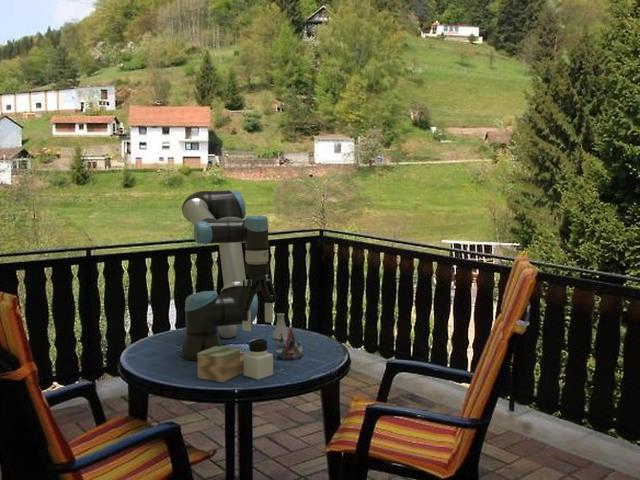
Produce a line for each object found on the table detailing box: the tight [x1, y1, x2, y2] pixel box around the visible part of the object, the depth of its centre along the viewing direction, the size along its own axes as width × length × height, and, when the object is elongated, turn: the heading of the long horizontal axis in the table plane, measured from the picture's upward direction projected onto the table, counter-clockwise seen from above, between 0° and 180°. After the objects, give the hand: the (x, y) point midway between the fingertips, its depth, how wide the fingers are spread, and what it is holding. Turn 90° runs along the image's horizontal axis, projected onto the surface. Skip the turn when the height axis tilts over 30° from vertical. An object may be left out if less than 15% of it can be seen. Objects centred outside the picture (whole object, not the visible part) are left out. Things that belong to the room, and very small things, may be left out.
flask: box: [271, 312, 289, 340], centre depth 261 cm, size 7×7×10 cm
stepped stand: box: [196, 346, 249, 383], centre depth 217 cm, size 10×20×8 cm, turn 153°
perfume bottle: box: [218, 325, 238, 339], centre depth 263 cm, size 8×10×12 cm
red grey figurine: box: [273, 326, 304, 360], centre depth 235 cm, size 11×11×12 cm
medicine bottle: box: [243, 338, 274, 380], centre depth 213 cm, size 7×7×12 cm
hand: (258, 326), depth 212 cm, fingers open, 13 cm apart
